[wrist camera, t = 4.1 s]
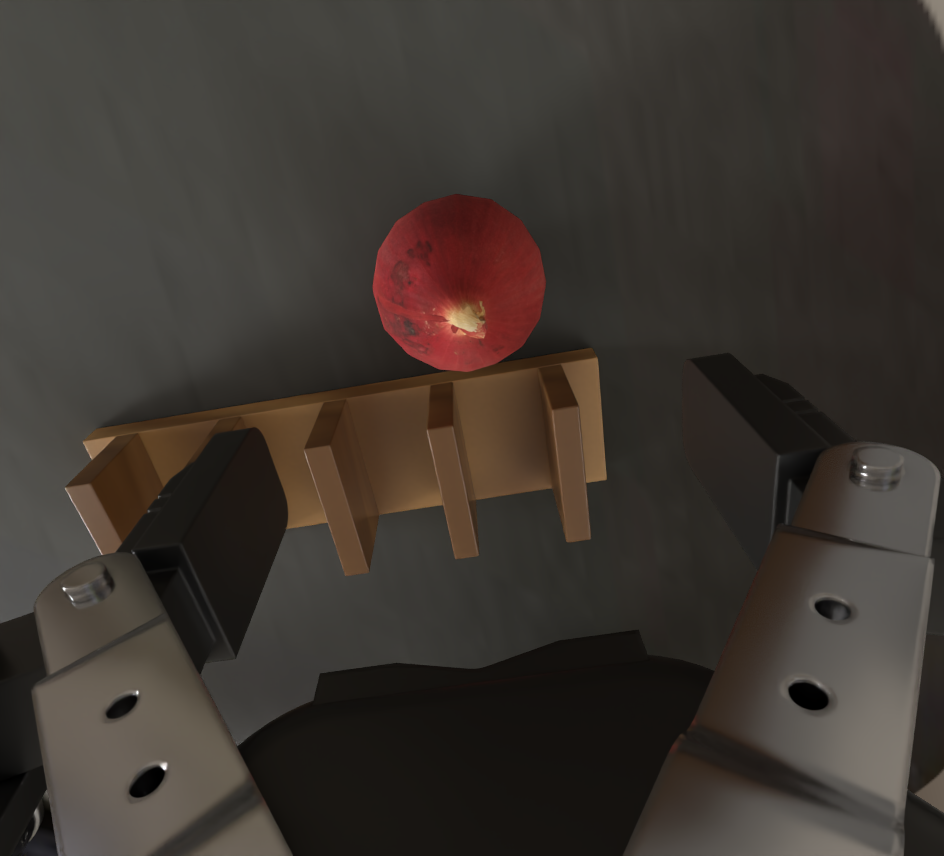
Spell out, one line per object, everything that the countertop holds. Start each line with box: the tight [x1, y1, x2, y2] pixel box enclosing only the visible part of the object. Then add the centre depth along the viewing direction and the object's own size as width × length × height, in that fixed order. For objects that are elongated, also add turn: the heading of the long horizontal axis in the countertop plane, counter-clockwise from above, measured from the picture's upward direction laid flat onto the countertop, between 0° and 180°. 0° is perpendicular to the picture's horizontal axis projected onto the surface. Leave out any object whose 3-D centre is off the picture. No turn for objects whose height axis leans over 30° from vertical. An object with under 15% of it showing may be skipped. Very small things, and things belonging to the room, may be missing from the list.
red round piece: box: [373, 194, 546, 372], centre depth 21 cm, size 6×6×8 cm
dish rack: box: [65, 348, 607, 576], centre depth 26 cm, size 22×6×5 cm, turn 99°
